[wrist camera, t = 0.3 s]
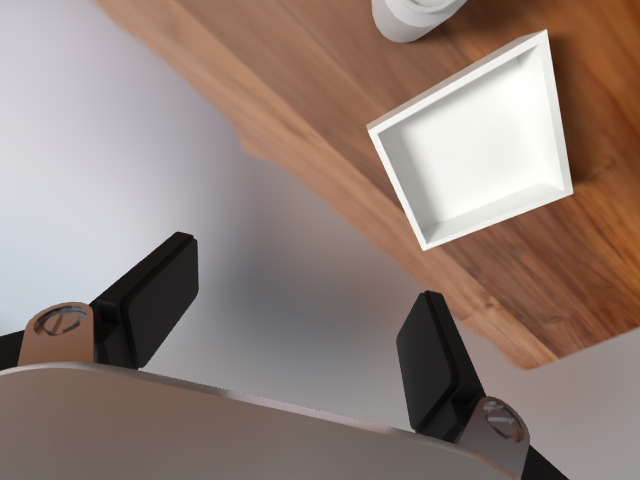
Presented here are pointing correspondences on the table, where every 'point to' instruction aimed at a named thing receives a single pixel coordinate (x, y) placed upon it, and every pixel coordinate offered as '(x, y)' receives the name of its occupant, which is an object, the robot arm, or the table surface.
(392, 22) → the can
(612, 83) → the table surface
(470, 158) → the tote
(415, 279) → the table surface
